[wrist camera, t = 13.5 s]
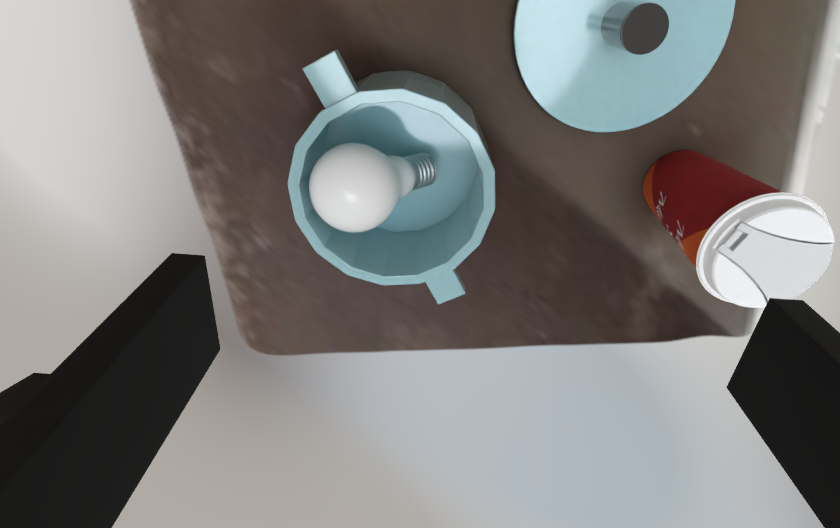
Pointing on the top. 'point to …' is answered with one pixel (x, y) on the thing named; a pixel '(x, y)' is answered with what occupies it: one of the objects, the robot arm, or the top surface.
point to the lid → (617, 56)
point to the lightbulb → (364, 184)
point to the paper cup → (739, 229)
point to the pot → (422, 208)
